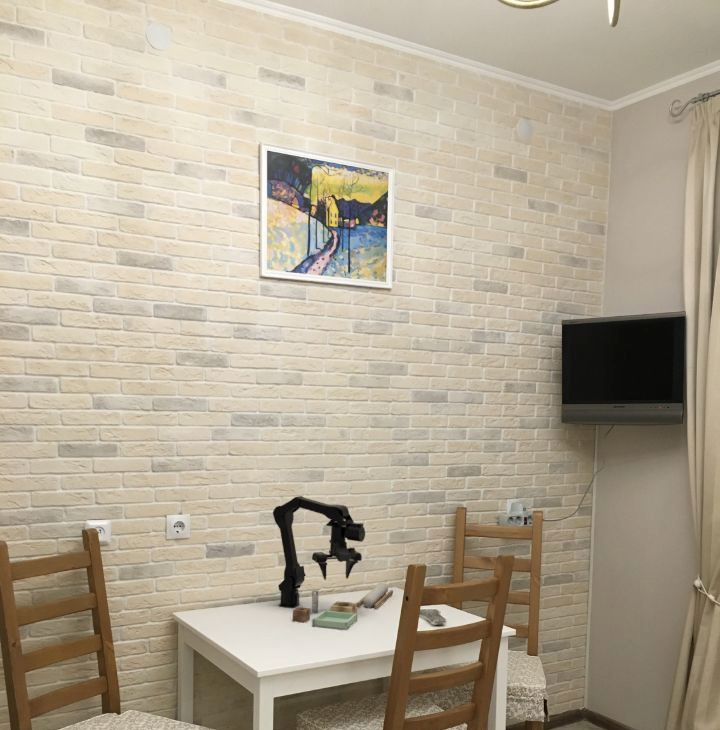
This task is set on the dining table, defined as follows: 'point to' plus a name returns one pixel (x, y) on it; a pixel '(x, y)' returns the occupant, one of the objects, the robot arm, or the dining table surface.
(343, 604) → the oak block
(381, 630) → the dining table surface
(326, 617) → the tray
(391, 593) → the tube rest
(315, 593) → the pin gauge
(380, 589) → the tube
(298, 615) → the walnut block
